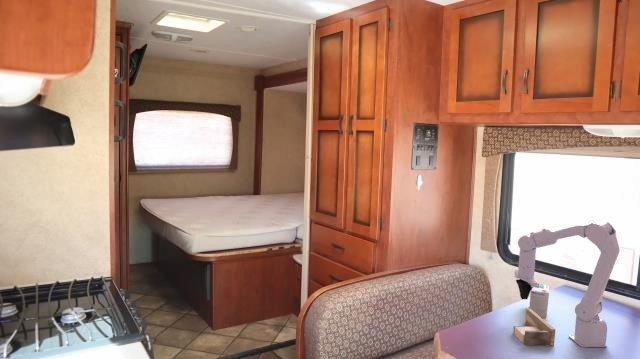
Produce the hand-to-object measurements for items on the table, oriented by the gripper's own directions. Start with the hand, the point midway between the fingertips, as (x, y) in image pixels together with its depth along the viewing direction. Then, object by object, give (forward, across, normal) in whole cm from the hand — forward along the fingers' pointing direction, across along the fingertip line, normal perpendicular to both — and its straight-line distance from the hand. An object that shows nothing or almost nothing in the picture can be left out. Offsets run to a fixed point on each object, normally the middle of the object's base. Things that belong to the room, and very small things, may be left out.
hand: (524, 298), depth 180 cm
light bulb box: (+10, -9, +11) cm, 17 cm away
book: (+10, +14, -4) cm, 17 cm away
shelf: (+9, +11, -4) cm, 15 cm away
